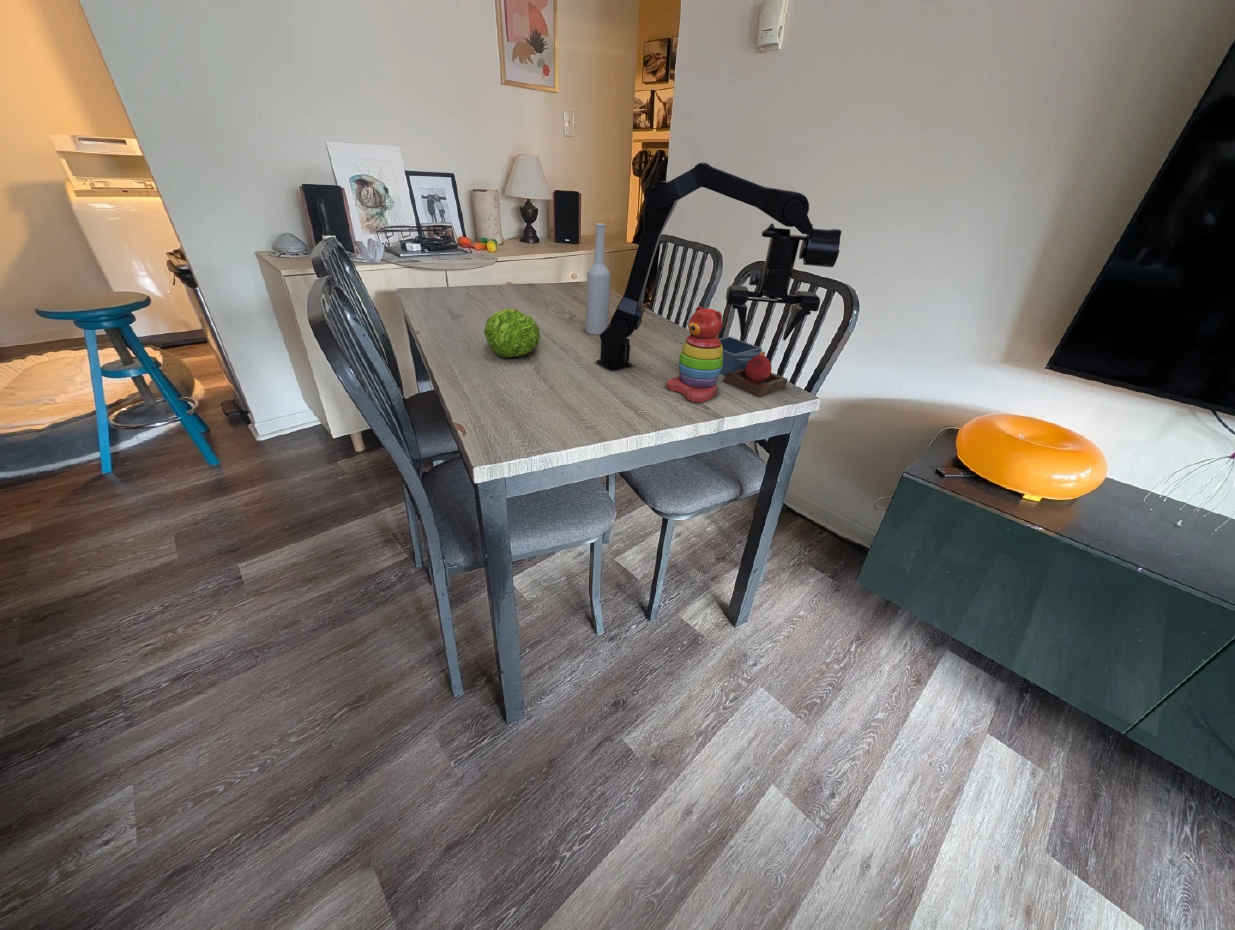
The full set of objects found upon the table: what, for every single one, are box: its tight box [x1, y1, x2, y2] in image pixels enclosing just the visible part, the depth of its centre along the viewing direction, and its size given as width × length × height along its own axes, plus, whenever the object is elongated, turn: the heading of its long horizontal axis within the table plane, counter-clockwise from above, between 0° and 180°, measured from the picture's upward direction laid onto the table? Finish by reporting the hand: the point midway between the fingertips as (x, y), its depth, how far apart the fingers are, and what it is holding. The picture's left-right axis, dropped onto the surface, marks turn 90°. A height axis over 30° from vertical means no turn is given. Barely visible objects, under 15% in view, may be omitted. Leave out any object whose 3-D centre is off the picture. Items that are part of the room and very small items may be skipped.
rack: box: [723, 368, 789, 398], centre depth 109 cm, size 10×10×2 cm
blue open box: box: [719, 336, 763, 376], centre depth 117 cm, size 10×10×6 cm
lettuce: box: [483, 307, 541, 359], centre depth 119 cm, size 12×24×13 cm
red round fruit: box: [745, 350, 773, 385], centre depth 108 cm, size 6×6×8 cm
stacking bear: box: [665, 305, 723, 403], centre depth 100 cm, size 11×10×18 cm
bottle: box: [585, 222, 611, 336], centre depth 130 cm, size 7×7×28 cm
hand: (762, 338), depth 105 cm, fingers open, 9 cm apart
